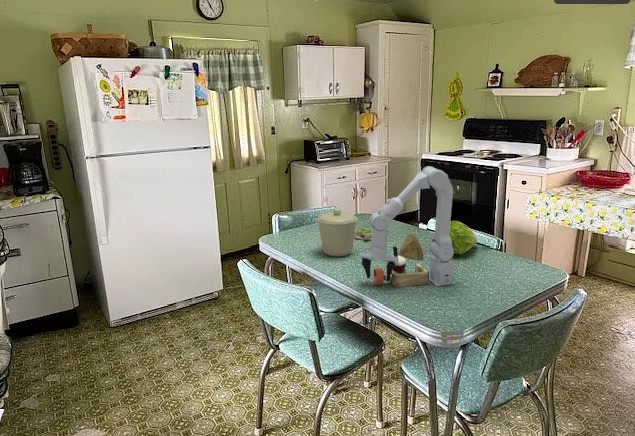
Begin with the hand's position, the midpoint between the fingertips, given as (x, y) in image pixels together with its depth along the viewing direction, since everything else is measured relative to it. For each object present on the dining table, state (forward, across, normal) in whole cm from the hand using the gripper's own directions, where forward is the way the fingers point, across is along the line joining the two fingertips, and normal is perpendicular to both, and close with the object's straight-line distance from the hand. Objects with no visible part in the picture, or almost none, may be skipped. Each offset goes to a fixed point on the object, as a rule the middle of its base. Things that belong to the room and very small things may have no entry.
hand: (378, 278), depth 174 cm
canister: (+2, +27, -29) cm, 40 cm away
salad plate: (+3, +22, -60) cm, 64 cm away
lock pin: (+2, -3, -2) cm, 4 cm away
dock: (+2, -9, -8) cm, 12 cm away
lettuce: (+2, -24, -48) cm, 54 cm away
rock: (+2, -6, -34) cm, 35 cm away
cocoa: (+2, -4, -16) cm, 16 cm away
